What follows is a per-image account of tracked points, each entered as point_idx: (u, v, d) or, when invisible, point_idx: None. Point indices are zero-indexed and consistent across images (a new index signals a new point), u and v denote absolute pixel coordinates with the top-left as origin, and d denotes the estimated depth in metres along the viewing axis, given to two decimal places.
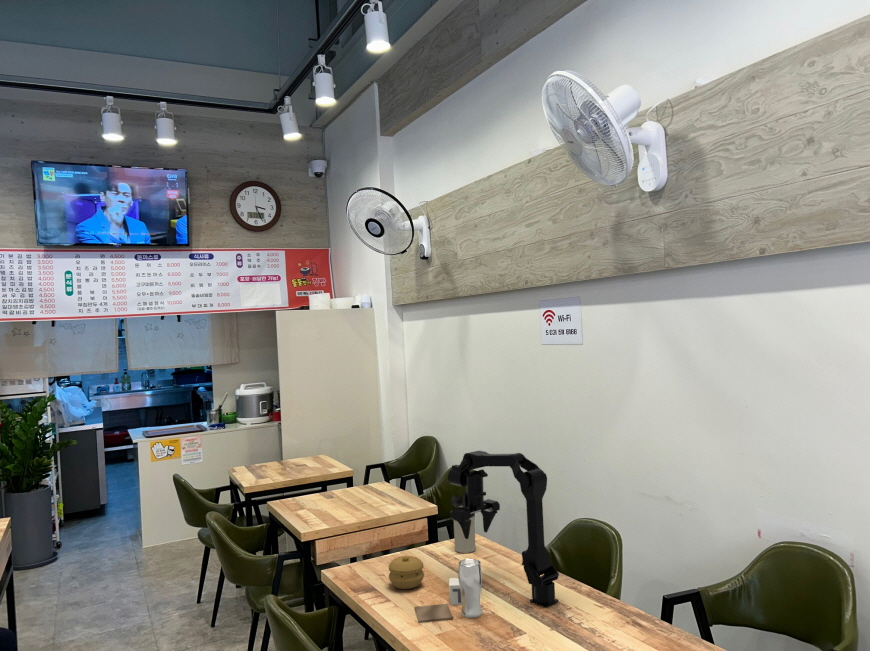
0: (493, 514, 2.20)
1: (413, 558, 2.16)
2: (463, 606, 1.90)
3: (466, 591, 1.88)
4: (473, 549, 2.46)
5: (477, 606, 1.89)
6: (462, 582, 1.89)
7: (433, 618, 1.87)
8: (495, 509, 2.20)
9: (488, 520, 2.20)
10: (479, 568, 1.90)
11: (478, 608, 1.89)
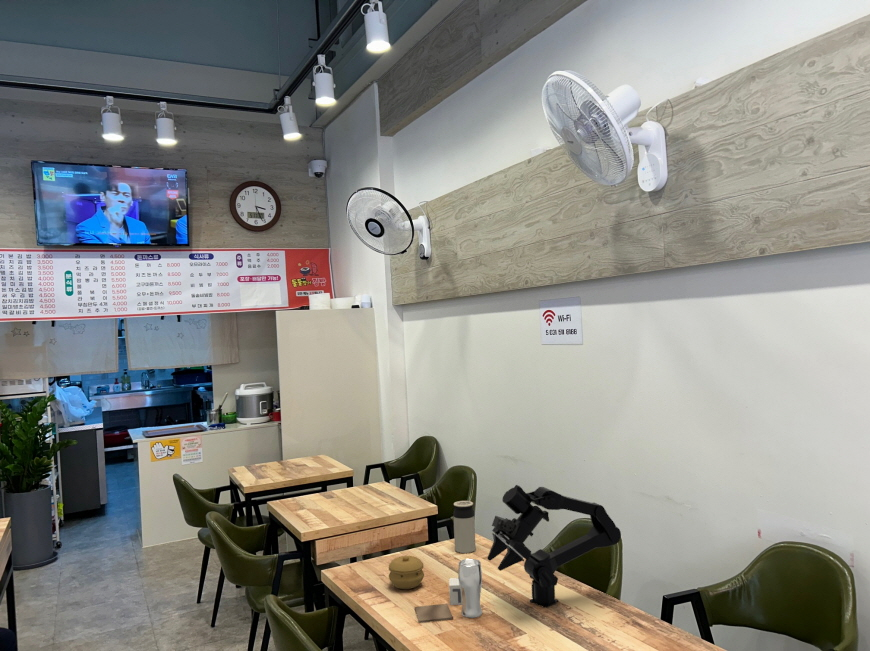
0: None
1: (413, 558, 2.16)
2: (463, 606, 1.90)
3: (466, 591, 1.88)
4: (473, 549, 2.46)
5: (477, 606, 1.89)
6: (462, 582, 1.89)
7: (433, 618, 1.87)
8: None
9: (500, 550, 1.99)
10: (479, 568, 1.90)
11: (478, 608, 1.89)
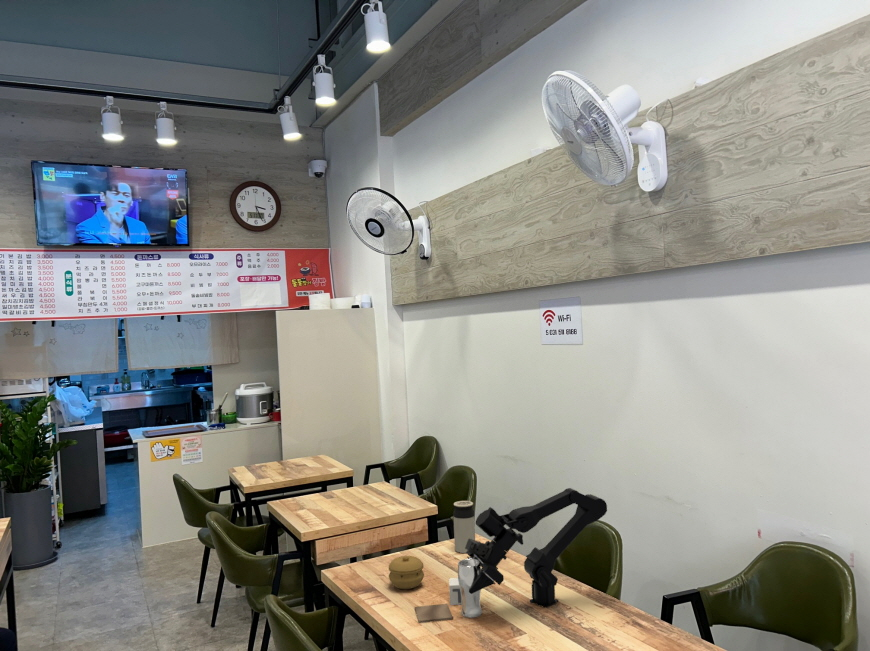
0: None
1: (413, 558, 2.16)
2: (463, 606, 1.90)
3: (466, 591, 1.88)
4: None
5: (477, 606, 1.89)
6: (462, 582, 1.89)
7: (433, 618, 1.87)
8: None
9: None
10: (479, 568, 1.89)
11: (478, 608, 1.89)
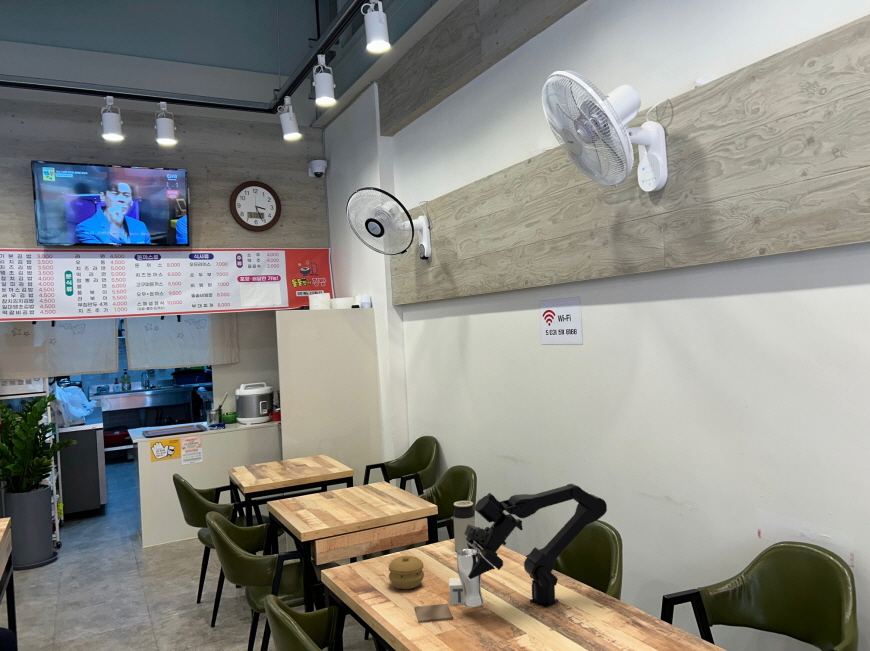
0: None
1: (413, 558, 2.16)
2: (464, 596, 1.90)
3: (467, 581, 1.88)
4: None
5: (478, 595, 1.89)
6: (461, 572, 1.89)
7: (433, 618, 1.87)
8: None
9: None
10: (477, 557, 1.90)
11: (479, 597, 1.89)
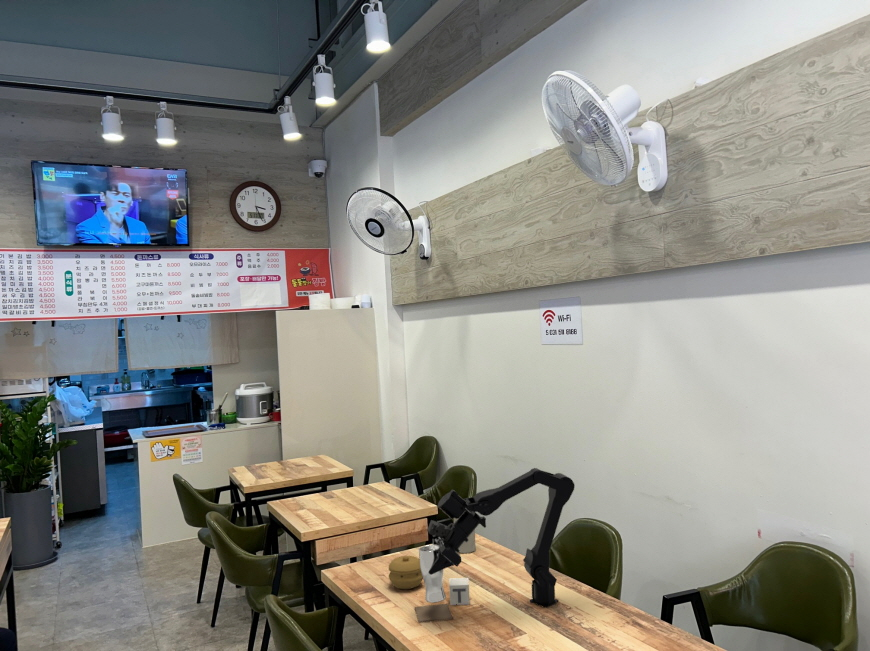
0: None
1: (413, 558, 2.16)
2: (426, 591, 1.91)
3: (427, 576, 1.89)
4: (473, 549, 2.46)
5: (439, 591, 1.90)
6: (422, 567, 1.90)
7: (433, 618, 1.87)
8: None
9: None
10: None
11: (441, 593, 1.90)
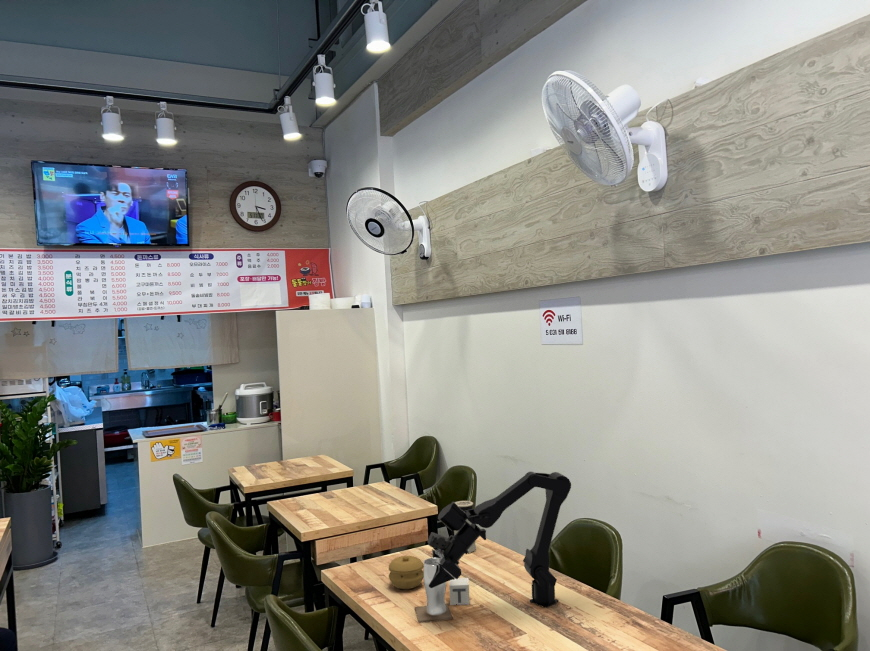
0: None
1: (413, 558, 2.16)
2: (427, 604, 1.91)
3: (430, 590, 1.89)
4: (473, 549, 2.46)
5: (441, 605, 1.89)
6: (426, 580, 1.89)
7: (433, 618, 1.87)
8: None
9: None
10: None
11: (442, 607, 1.90)
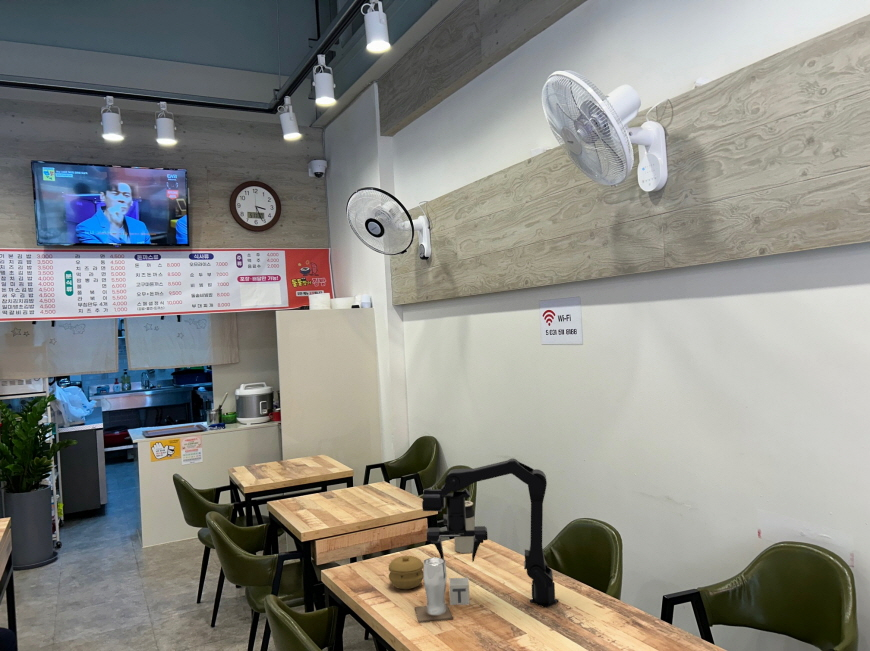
0: (476, 543, 1.98)
1: (413, 558, 2.16)
2: (427, 604, 1.91)
3: (430, 590, 1.89)
4: None
5: (441, 605, 1.90)
6: (426, 580, 1.90)
7: (433, 618, 1.87)
8: (478, 538, 1.98)
9: None
10: (443, 567, 1.90)
11: (442, 607, 1.90)
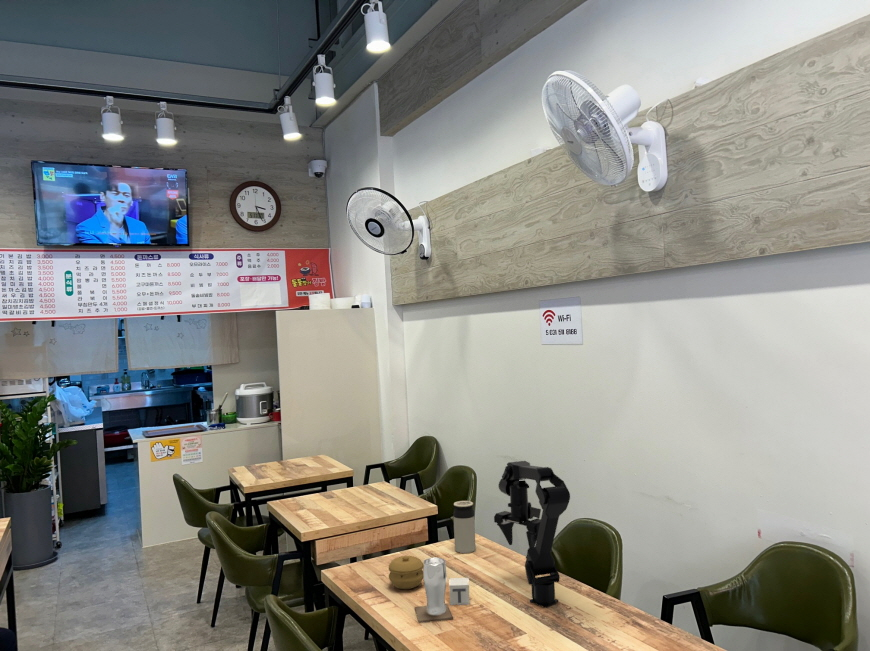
0: (527, 533, 2.06)
1: (413, 558, 2.16)
2: (427, 604, 1.91)
3: (430, 590, 1.89)
4: (473, 549, 2.46)
5: (441, 605, 1.90)
6: (426, 580, 1.90)
7: (433, 618, 1.87)
8: (529, 529, 2.05)
9: None
10: (443, 567, 1.90)
11: (442, 607, 1.90)
